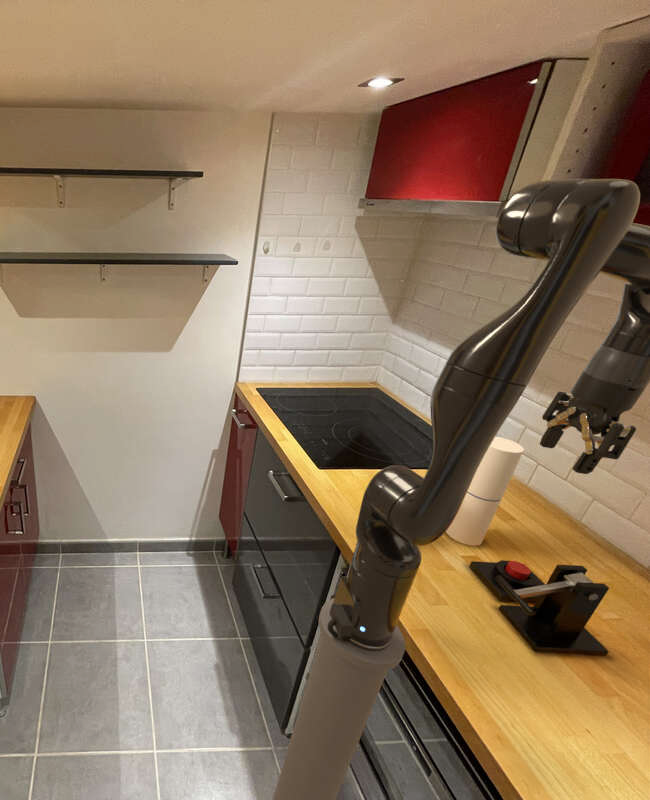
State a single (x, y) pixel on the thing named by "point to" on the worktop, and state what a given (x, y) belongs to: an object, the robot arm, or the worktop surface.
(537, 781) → the worktop surface
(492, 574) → the block
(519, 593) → the lever
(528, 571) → the button
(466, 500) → the cylindrical container
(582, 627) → the lever bracket
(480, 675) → the worktop surface
